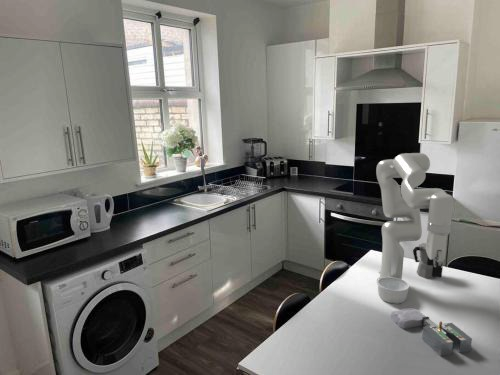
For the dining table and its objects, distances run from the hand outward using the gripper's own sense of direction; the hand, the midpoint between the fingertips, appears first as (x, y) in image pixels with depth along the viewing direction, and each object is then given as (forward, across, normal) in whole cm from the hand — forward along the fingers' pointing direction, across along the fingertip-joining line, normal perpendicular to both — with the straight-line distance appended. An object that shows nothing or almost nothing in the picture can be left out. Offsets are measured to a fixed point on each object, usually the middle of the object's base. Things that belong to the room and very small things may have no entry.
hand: (433, 270), depth 143 cm
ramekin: (+25, -21, -11) cm, 35 cm away
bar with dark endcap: (+23, +3, +1) cm, 24 cm away
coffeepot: (+25, -48, +6) cm, 55 cm away
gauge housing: (+24, +9, +4) cm, 26 cm away
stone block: (+25, -4, -7) cm, 26 cm away
